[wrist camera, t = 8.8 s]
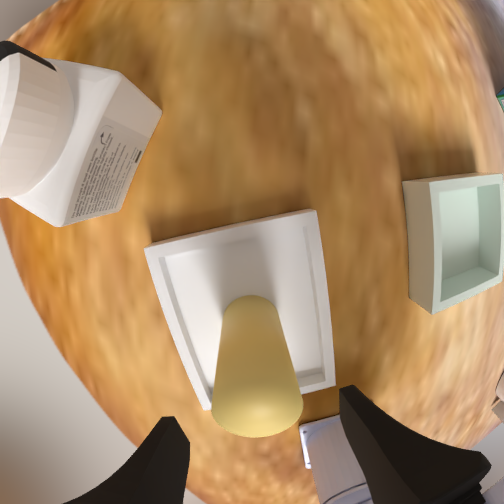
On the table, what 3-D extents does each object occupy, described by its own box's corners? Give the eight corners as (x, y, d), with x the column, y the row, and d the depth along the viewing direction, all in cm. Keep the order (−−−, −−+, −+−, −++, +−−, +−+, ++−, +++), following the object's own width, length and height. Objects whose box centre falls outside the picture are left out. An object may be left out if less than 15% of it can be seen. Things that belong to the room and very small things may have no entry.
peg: (282, 339, 20) (306, 428, 11) (229, 348, 20) (224, 441, 11) (274, 290, 19) (298, 368, 10) (216, 300, 19) (199, 384, 10)
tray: (329, 372, 21) (335, 385, 20) (205, 396, 22) (203, 410, 20) (309, 208, 18) (316, 210, 16) (151, 242, 18) (143, 248, 17)
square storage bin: (479, 270, 20) (502, 281, 17) (409, 297, 20) (431, 314, 17) (476, 172, 18) (502, 173, 14) (401, 181, 18) (429, 182, 15)
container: (48, 177, 17) (-84, 188, 4) (85, 86, 15) (-30, 28, 3) (121, 213, 18) (-25, 260, 5) (165, 111, 16) (58, 14, 4)
